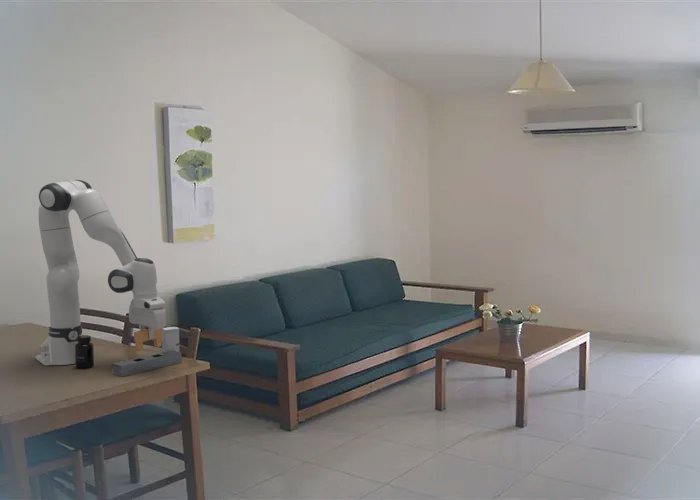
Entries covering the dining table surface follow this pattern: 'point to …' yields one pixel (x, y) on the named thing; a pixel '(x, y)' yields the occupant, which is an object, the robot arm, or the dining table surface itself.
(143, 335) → the clip
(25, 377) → the dining table surface
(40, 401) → the dining table surface
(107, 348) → the dining table surface
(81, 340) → the supplement bottle
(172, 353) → the rail
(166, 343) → the skincare box
